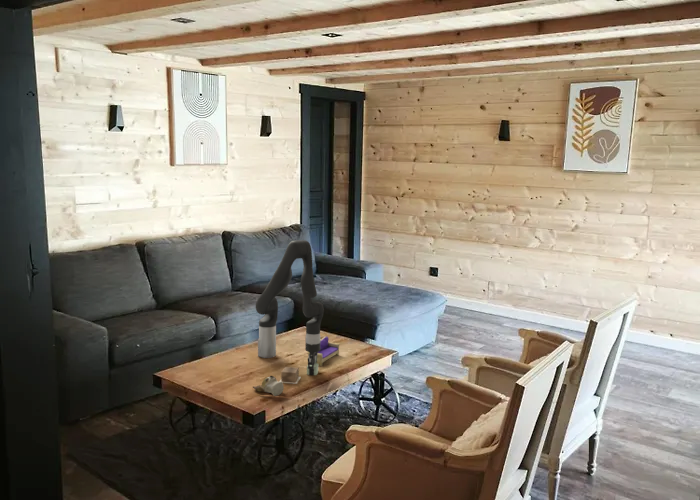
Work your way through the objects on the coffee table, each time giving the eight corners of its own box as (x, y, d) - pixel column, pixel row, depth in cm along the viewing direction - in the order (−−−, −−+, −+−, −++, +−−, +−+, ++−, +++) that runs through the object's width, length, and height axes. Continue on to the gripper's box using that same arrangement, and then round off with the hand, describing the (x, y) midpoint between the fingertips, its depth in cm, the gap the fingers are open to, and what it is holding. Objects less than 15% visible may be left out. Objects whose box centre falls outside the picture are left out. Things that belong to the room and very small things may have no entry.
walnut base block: (281, 381, 297) (281, 371, 296) (284, 376, 303) (284, 366, 303) (295, 382, 296) (295, 372, 295) (298, 377, 303) (298, 367, 302)
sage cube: (306, 375, 307) (306, 366, 306) (308, 372, 312) (308, 362, 311) (316, 376, 306) (316, 367, 306) (318, 372, 311) (318, 363, 311)
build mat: (275, 384, 295) (275, 383, 295) (281, 375, 306) (281, 374, 306) (299, 386, 293) (299, 385, 293) (304, 377, 305) (304, 376, 305)
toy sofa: (321, 366, 321) (321, 348, 319) (307, 363, 325) (307, 345, 323) (339, 355, 339) (340, 337, 338) (326, 352, 343) (326, 335, 342)
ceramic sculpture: (272, 381, 275) (251, 375, 285) (273, 400, 276) (251, 393, 286) (289, 375, 283) (268, 369, 293) (290, 393, 284) (268, 387, 294)
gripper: (308, 336, 314) (308, 368, 317) (302, 345, 300) (302, 378, 303) (322, 337, 313) (322, 369, 316) (317, 346, 299) (317, 379, 302)
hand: (312, 373), depth 309 cm, fingers closed on sage cube, 5 cm apart
